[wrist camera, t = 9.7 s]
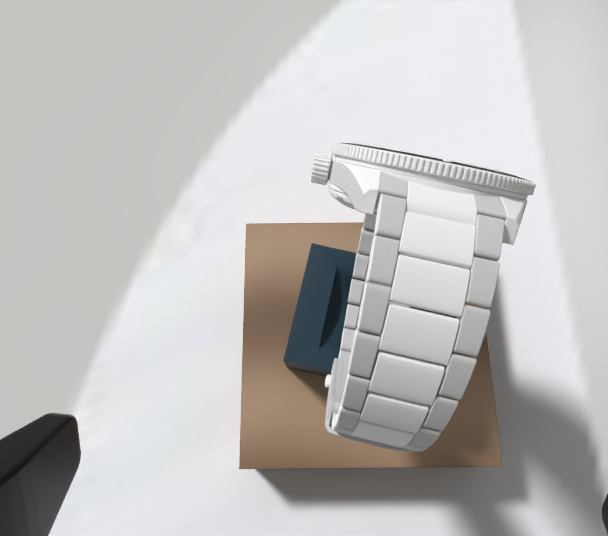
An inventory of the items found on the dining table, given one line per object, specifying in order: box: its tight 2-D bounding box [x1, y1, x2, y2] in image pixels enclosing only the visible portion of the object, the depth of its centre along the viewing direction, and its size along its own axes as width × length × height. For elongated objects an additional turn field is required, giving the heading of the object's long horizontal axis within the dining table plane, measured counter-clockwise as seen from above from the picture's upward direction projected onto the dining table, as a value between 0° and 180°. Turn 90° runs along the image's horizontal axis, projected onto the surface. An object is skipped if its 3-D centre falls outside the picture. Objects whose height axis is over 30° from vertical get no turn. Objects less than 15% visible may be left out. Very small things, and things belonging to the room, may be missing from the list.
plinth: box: [239, 223, 502, 469], centre depth 20 cm, size 10×10×2 cm
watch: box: [283, 143, 536, 452], centre depth 14 cm, size 6×8×11 cm
